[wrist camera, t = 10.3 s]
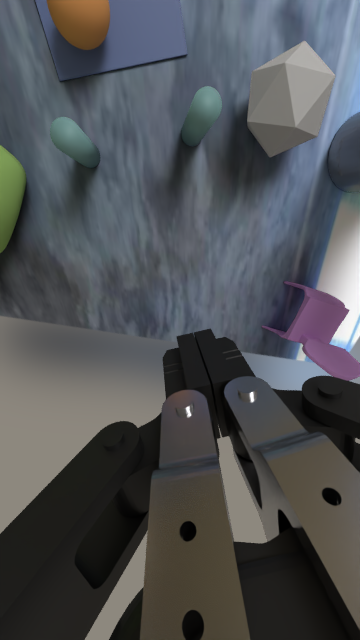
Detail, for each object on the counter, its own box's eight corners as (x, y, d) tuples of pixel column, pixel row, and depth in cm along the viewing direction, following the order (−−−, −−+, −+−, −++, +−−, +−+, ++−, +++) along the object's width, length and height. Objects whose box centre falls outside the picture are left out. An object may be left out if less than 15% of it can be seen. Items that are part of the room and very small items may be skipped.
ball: (117, 6, 22) (123, 46, 27) (80, -86, 19) (94, -24, 25) (62, 39, 22) (78, 72, 27) (19, -48, 20) (45, 6, 25)
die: (263, 176, 34) (346, 143, 26) (221, 143, 28) (310, 91, 21) (269, 112, 33) (355, 62, 26) (228, 67, 28) (321, -13, 20)
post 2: (200, 117, 30) (219, 83, 22) (204, 143, 31) (223, 120, 23) (179, 122, 30) (190, 89, 22) (183, 148, 31) (195, 126, 23)
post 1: (96, 140, 30) (75, 114, 21) (103, 165, 31) (86, 149, 23) (74, 144, 30) (45, 120, 21) (82, 170, 31) (57, 155, 22)
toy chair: (324, 290, 41) (411, 331, 27) (297, 337, 44) (364, 395, 30) (279, 275, 39) (350, 311, 25) (255, 325, 42) (306, 381, 28)
